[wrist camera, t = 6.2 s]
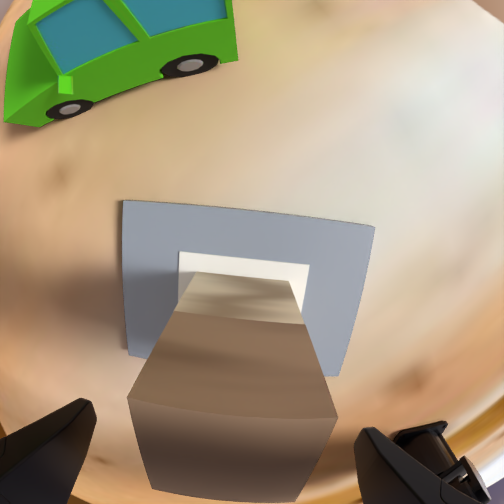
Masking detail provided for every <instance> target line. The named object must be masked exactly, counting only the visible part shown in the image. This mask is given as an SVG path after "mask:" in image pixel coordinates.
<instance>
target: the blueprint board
mask: <svg viewBox="0 0 504 504" xmlns="http://www.w3.org/2000/svg"><path fill="white" fill-rule="evenodd" d="M374 231H375V227H373V226H370V225H364V224H357V223H350V222H343V221H336V220H329V219H322V218H314V217H306V216H299V215H290V214H282V213H274V212H265V211H256V210H246V209H236V208H226V207H216V206H205V205H193V204H181V203H168V202H154V201H139V200H124V201H123V220H122V274H123V297H124V312H125V324H126V335H127V344H128V352H129V355H130V356H135V357H140V358H145V359H148V357H149V355H150V353H151V352H152V350H153V348H154V346H155V344H156V342H157V341H158V339H159V337H160V335H161V333H162V332H163V330H164V328H165V326H166V325H167V323H168V321H169V319H170V317H171V316H172V314H173V312H174V309H175V307H176V306H177V304H178V302H179V301H180V299H181V297H182V295H183V294H184V292H185V290H186V289H187V287H188V285H189V283H190V282H191V280H192V278H193V277H194V275H195V273H196V272H197V271H198V272H207V273H216V274H225V275H234V276H244V277H254V278H264V279H274V280H284V281H289V283H290V285H291V288H292V291H293V294H294V296H295V299H296V302H297V304H298V307H299V310H300V313H301V315H302V318H303V321H304V324H305V325H306V328H307V330H308V333H309V336H310V339H311V341H312V344H313V347H314V350H315V352H316V355H317V358H318V361H319V364H320V366H321V369H322V372H323V375H324V376H339V373H340V370H341V367H342V364H343V361H344V357H345V354H346V351H347V347H348V344H349V341H350V337H351V334H352V330H353V326H354V323H355V319H356V315H357V311H358V307H359V303H360V299H361V295H362V291H363V287H364V282H365V278H366V273H367V268H368V264H369V259H370V253H371V248H372V243H373V237H374Z"/></svg>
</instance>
